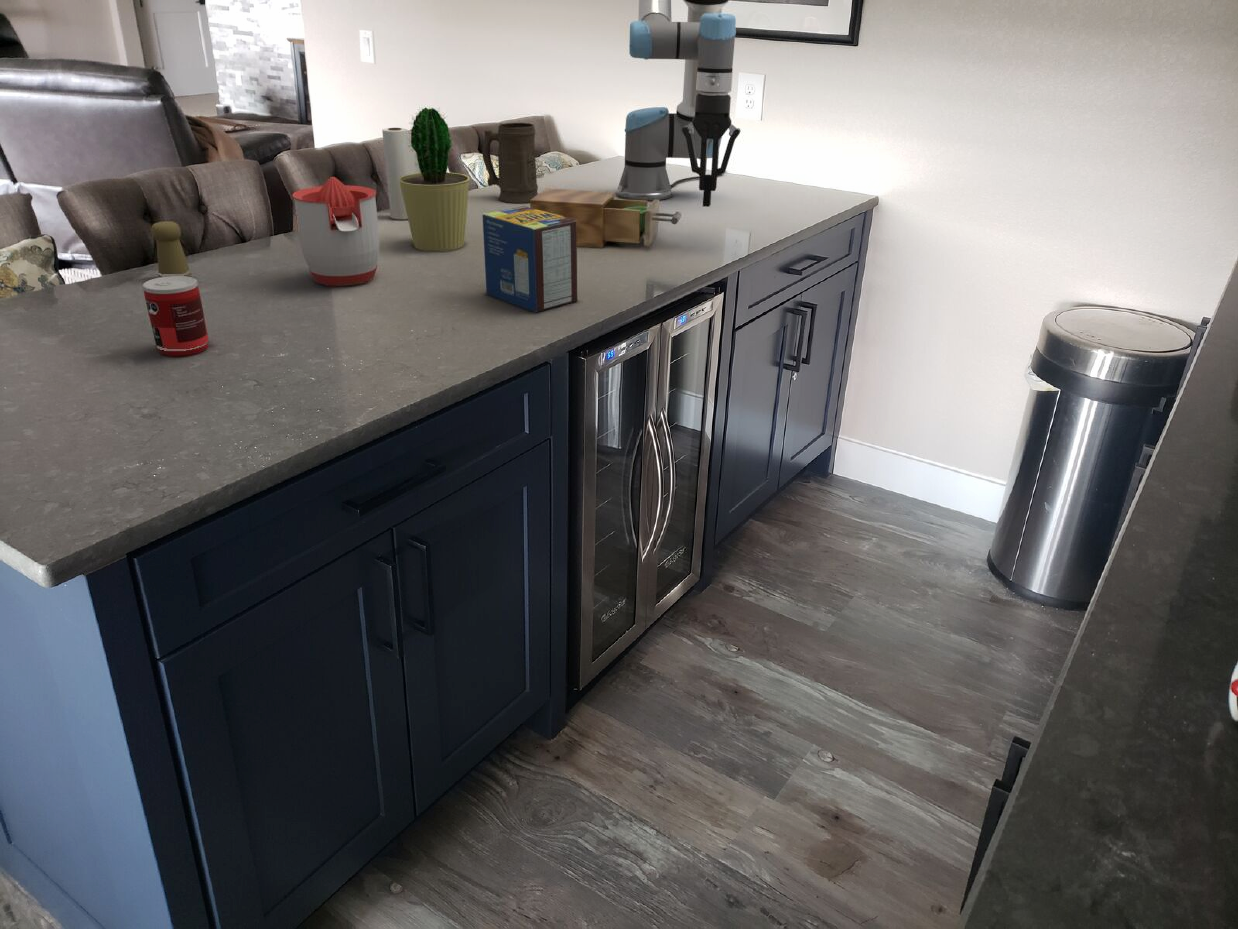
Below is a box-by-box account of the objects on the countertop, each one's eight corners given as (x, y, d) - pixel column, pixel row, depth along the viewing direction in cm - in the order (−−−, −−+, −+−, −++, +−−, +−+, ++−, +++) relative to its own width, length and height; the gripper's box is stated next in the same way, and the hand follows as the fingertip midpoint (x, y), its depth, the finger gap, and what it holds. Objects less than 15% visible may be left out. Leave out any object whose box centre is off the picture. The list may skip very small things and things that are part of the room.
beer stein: (544, 195, 261) (537, 120, 251) (537, 203, 251) (530, 125, 242) (490, 197, 262) (482, 122, 253) (482, 205, 253) (473, 128, 244)
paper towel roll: (385, 218, 233) (376, 129, 223) (399, 213, 238) (391, 126, 228) (410, 221, 231) (402, 131, 221) (423, 216, 236) (416, 128, 226)
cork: (198, 275, 187) (188, 220, 181) (177, 283, 181) (165, 227, 176) (174, 272, 188) (163, 217, 183) (152, 280, 183) (139, 224, 178)
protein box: (526, 283, 186) (524, 205, 179) (578, 301, 176) (578, 219, 169) (484, 294, 179) (480, 212, 172) (536, 313, 170) (533, 228, 162)
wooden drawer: (682, 234, 220) (683, 200, 216) (674, 248, 209) (676, 212, 205) (594, 229, 224) (594, 195, 220) (582, 241, 213) (582, 206, 209)
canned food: (166, 340, 153) (152, 275, 148) (216, 340, 154) (203, 275, 149) (149, 357, 147) (134, 289, 142) (201, 356, 147) (188, 289, 142)
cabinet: (613, 233, 224) (614, 192, 219) (602, 247, 212) (602, 204, 207) (546, 229, 226) (545, 188, 222) (531, 242, 214) (530, 199, 210)
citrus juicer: (314, 297, 176) (300, 189, 166) (297, 273, 189) (282, 172, 180) (396, 287, 182) (386, 182, 173) (373, 264, 196) (363, 166, 186)
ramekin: (605, 235, 215) (602, 216, 213) (626, 225, 221) (623, 206, 219) (638, 234, 210) (635, 215, 208) (658, 224, 216) (655, 205, 214)
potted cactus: (487, 245, 212) (480, 105, 198) (432, 257, 202) (421, 111, 188) (445, 233, 221) (436, 98, 207) (391, 244, 211) (377, 103, 197)
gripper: (681, 93, 196) (675, 206, 207) (742, 96, 194) (734, 210, 205) (685, 90, 203) (680, 200, 214) (745, 92, 201) (736, 203, 212)
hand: (706, 205), depth 209 cm, fingers closed
